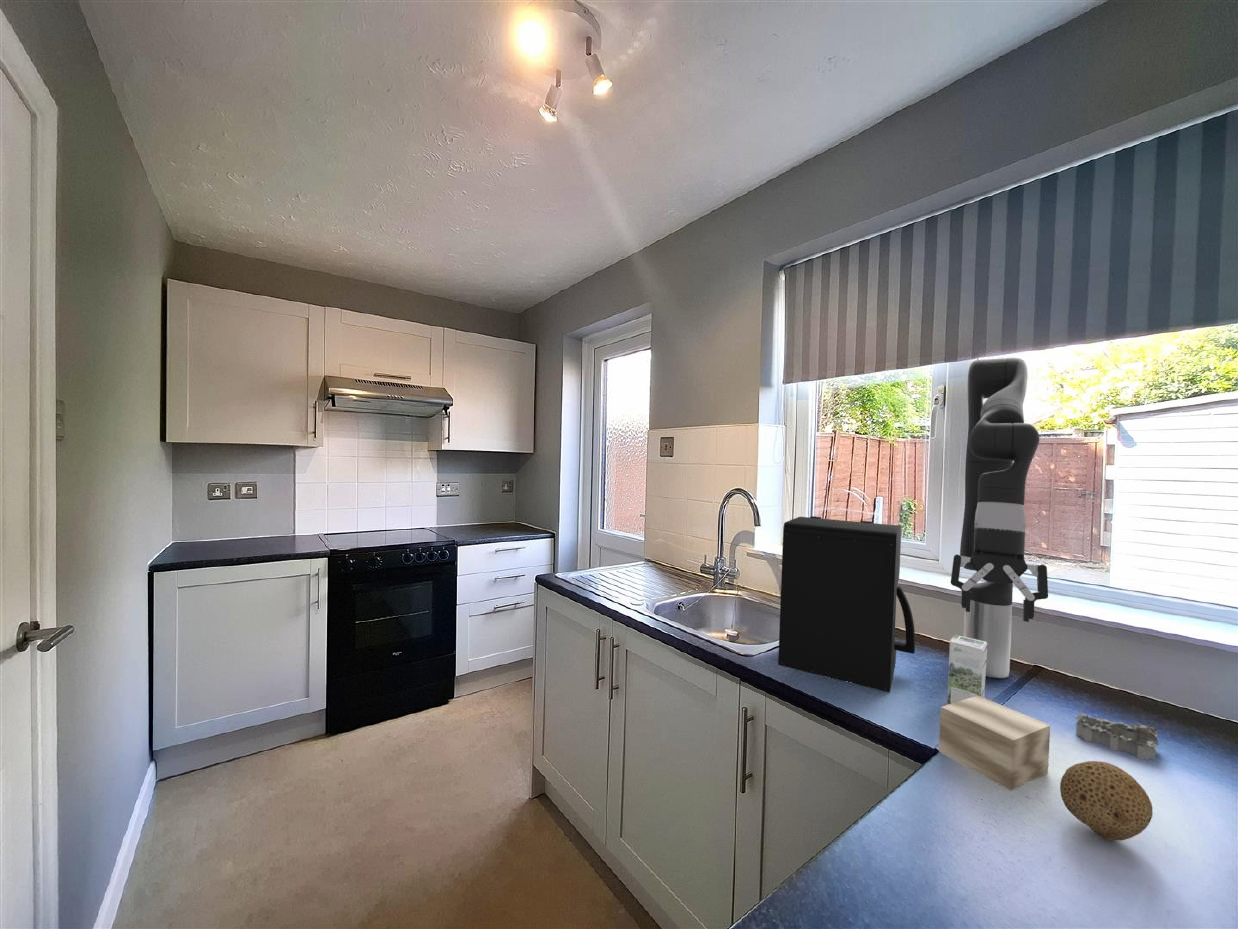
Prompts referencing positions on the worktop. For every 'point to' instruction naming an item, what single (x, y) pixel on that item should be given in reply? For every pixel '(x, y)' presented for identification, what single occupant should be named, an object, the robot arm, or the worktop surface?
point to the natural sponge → (1106, 799)
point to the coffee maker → (842, 600)
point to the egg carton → (1119, 735)
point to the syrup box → (966, 668)
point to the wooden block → (995, 741)
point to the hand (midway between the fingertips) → (995, 616)
